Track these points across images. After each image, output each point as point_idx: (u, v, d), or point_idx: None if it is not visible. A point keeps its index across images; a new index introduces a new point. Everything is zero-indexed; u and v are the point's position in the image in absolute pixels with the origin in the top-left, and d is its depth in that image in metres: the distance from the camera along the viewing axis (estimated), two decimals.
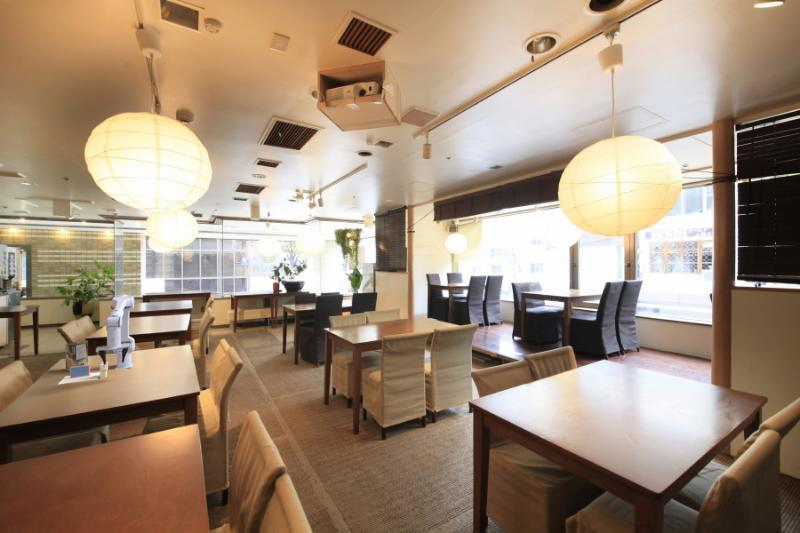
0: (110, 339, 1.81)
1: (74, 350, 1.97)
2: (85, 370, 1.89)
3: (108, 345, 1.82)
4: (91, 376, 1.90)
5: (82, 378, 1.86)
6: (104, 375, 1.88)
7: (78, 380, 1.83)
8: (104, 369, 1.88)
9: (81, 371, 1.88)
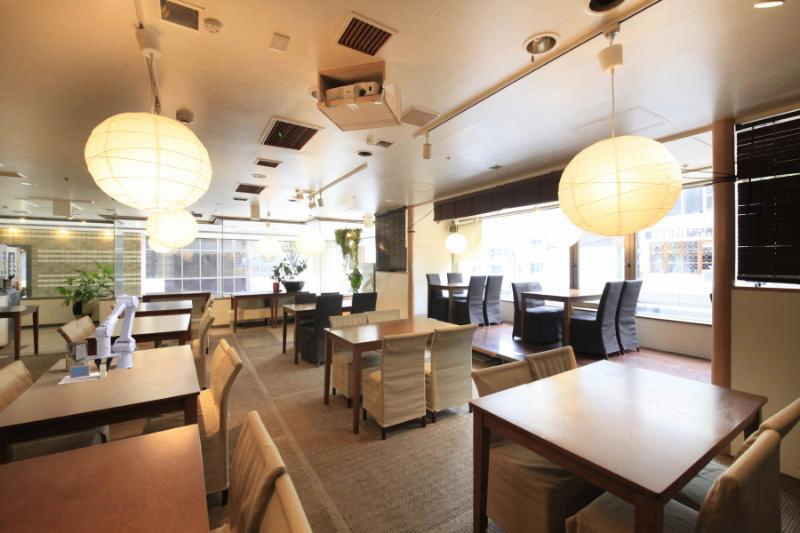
0: (98, 348, 1.87)
1: (74, 350, 1.97)
2: (85, 370, 1.89)
3: (98, 354, 1.87)
4: (91, 376, 1.90)
5: (82, 378, 1.86)
6: (104, 375, 1.88)
7: (78, 380, 1.83)
8: (104, 369, 1.88)
9: (81, 371, 1.88)
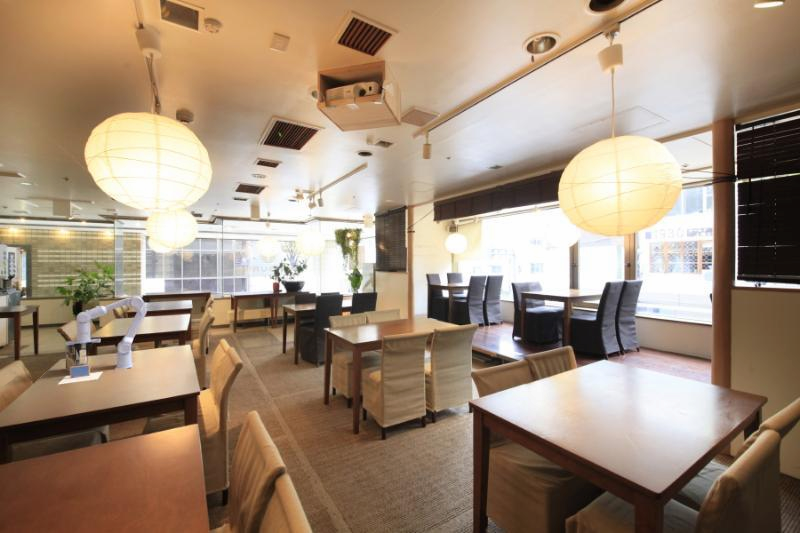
0: None
1: (74, 350, 1.97)
2: (85, 370, 1.89)
3: (78, 339, 1.92)
4: (91, 376, 1.90)
5: (82, 378, 1.86)
6: (84, 360, 1.93)
7: (78, 380, 1.83)
8: (84, 354, 1.93)
9: (81, 371, 1.88)
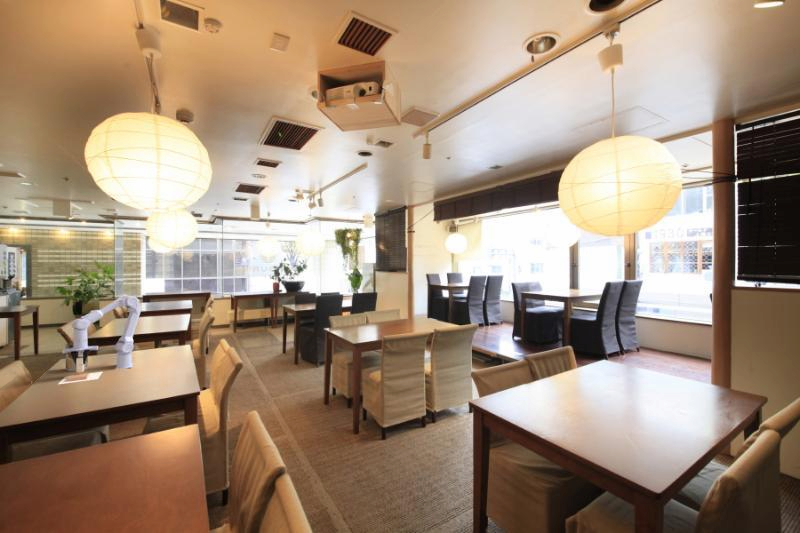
0: None
1: None
2: None
3: (74, 346, 1.86)
4: (91, 376, 1.90)
5: None
6: (81, 369, 1.88)
7: (78, 380, 1.83)
8: (81, 363, 1.88)
9: None
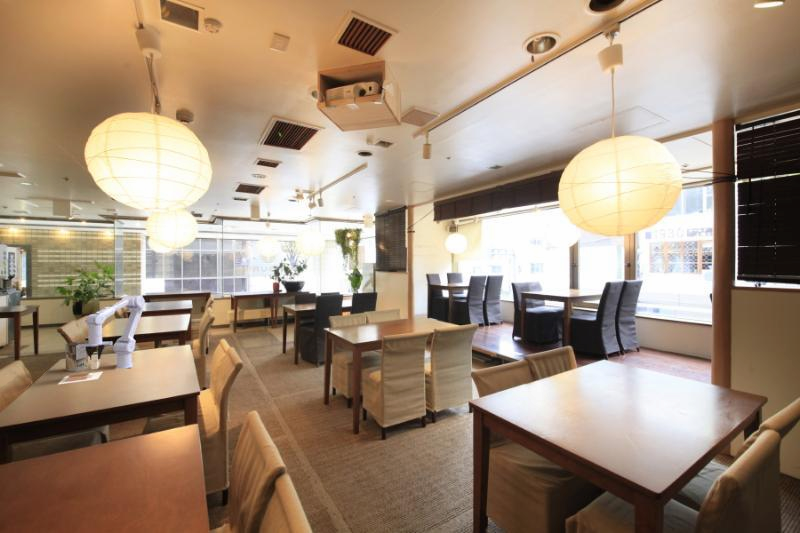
0: (88, 336, 1.87)
1: (74, 350, 1.97)
2: None
3: (89, 342, 1.87)
4: (91, 376, 1.90)
5: None
6: (96, 365, 1.88)
7: (78, 380, 1.83)
8: (96, 359, 1.88)
9: None
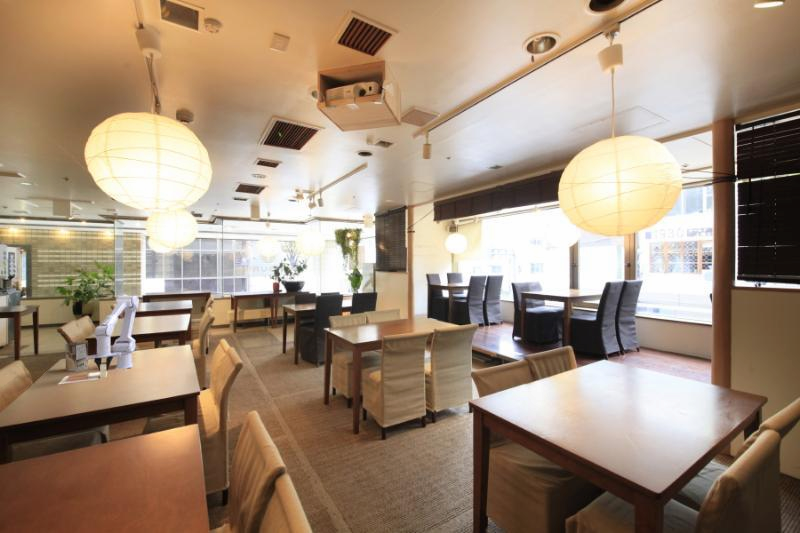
0: (98, 347, 1.87)
1: (74, 350, 1.97)
2: None
3: (98, 353, 1.87)
4: (91, 376, 1.90)
5: None
6: (104, 375, 1.88)
7: (78, 380, 1.83)
8: (104, 369, 1.88)
9: None
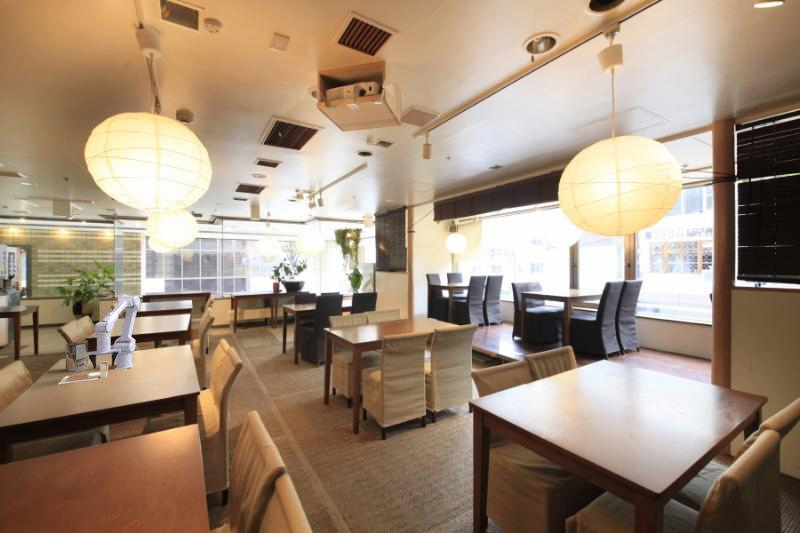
0: (98, 343, 1.87)
1: (74, 350, 1.97)
2: None
3: (98, 349, 1.87)
4: (91, 376, 1.90)
5: None
6: (104, 375, 1.88)
7: (78, 380, 1.83)
8: (104, 369, 1.88)
9: None
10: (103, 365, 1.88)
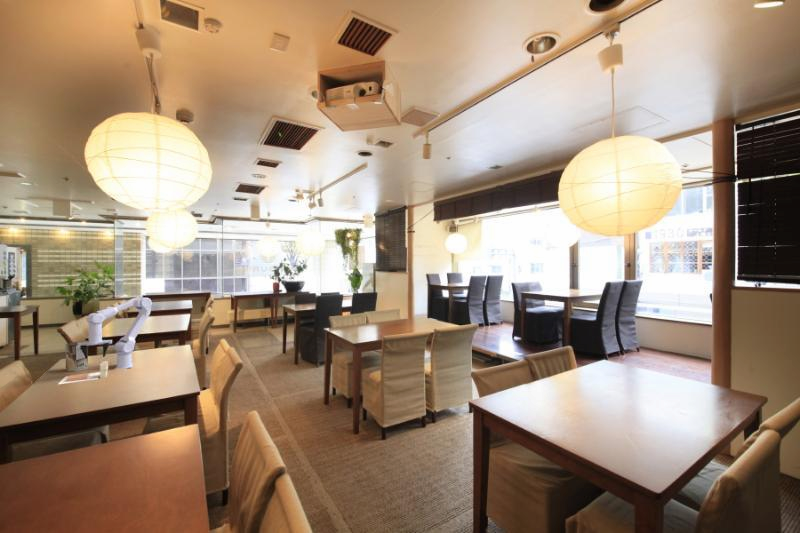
0: None
1: (74, 350, 1.97)
2: None
3: (89, 340, 1.91)
4: (91, 376, 1.90)
5: None
6: (104, 375, 1.88)
7: (78, 380, 1.83)
8: (104, 369, 1.88)
9: None
10: (103, 365, 1.88)
